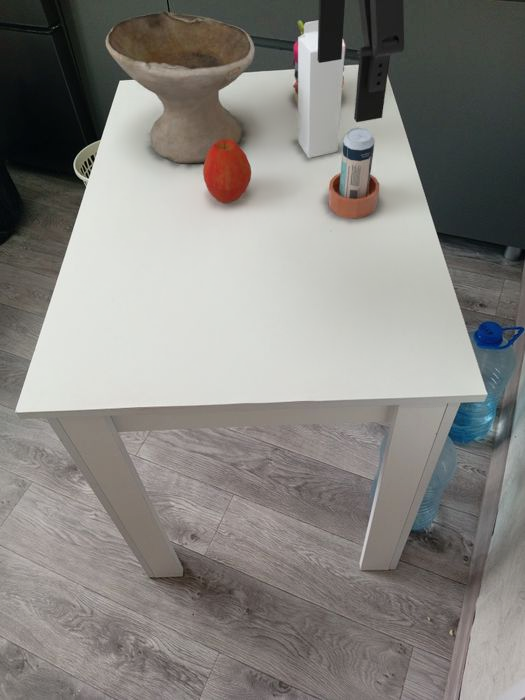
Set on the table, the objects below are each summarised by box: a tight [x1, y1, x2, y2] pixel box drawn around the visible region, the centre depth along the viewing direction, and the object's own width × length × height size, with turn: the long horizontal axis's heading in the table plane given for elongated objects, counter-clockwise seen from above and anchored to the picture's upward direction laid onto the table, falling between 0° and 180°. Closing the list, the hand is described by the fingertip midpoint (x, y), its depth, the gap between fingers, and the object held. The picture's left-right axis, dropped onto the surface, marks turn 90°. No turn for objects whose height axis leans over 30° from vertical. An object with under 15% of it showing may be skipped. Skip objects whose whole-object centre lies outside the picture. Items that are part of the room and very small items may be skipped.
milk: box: [297, 19, 346, 159], centre depth 89 cm, size 6×6×22 cm
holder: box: [327, 172, 380, 220], centre depth 86 cm, size 8×8×4 cm
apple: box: [202, 139, 252, 204], centre depth 86 cm, size 8×8×11 cm
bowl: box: [105, 10, 256, 164], centre depth 94 cm, size 26×25×20 cm
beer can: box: [339, 127, 376, 199], centre depth 82 cm, size 5×5×12 cm
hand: (347, 87), depth 56 cm, fingers open, 13 cm apart
